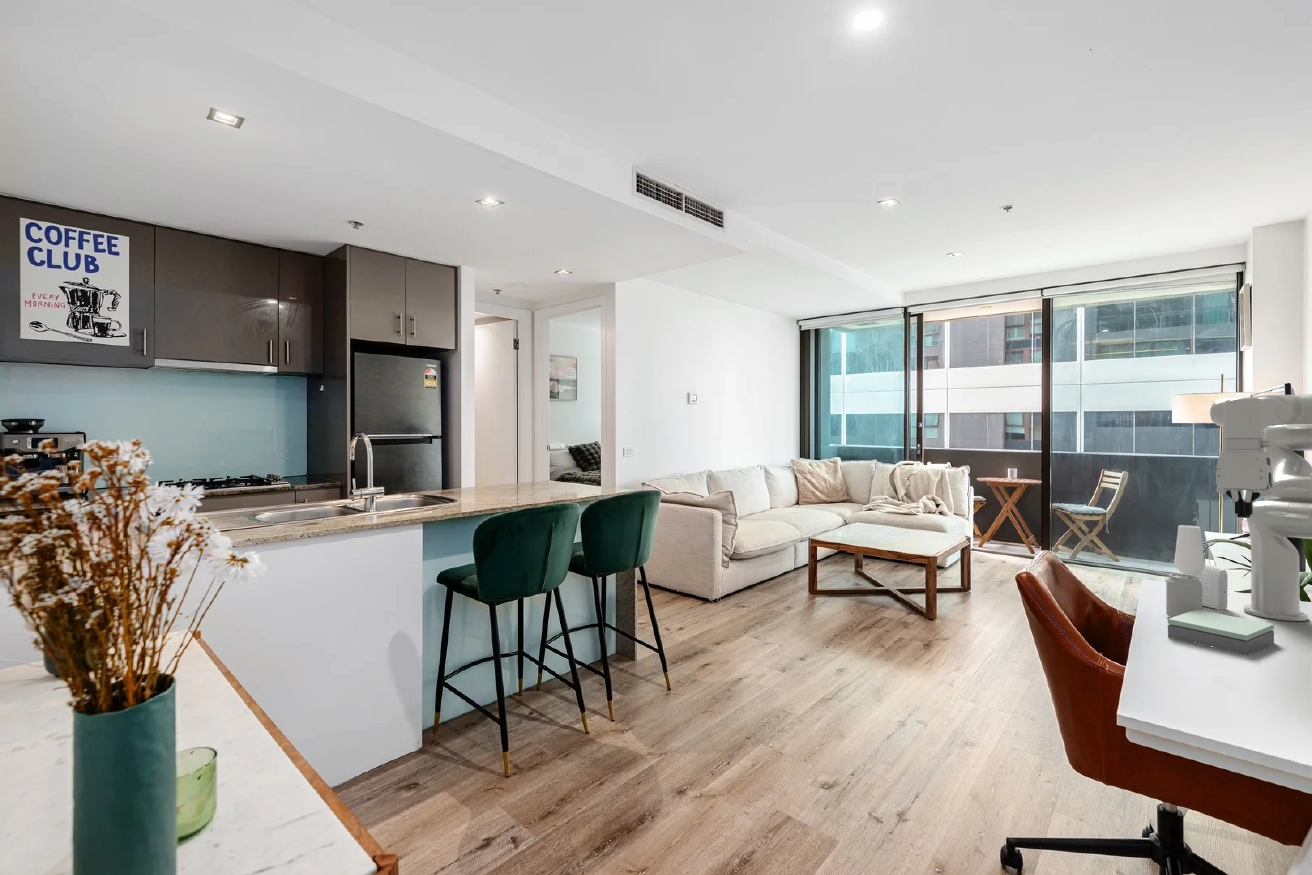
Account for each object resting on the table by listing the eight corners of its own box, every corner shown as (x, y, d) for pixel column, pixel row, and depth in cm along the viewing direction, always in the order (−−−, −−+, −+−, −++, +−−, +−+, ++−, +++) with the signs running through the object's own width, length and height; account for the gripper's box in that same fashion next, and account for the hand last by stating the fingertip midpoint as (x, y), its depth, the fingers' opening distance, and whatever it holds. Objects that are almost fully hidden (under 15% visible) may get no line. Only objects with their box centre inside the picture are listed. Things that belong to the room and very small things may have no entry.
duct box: (1196, 626, 163) (1196, 615, 163) (1273, 642, 150) (1273, 630, 150) (1167, 636, 156) (1167, 624, 156) (1246, 655, 142) (1246, 641, 142)
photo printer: (1230, 609, 179) (1230, 566, 179) (1220, 610, 177) (1220, 567, 177) (1190, 600, 188) (1190, 559, 188) (1180, 601, 187) (1180, 560, 187)
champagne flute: (1202, 609, 179) (1202, 525, 179) (1207, 615, 173) (1207, 528, 173) (1172, 605, 183) (1172, 524, 182) (1176, 611, 177) (1176, 527, 177)
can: (1204, 625, 164) (1204, 580, 164) (1167, 620, 169) (1167, 576, 169) (1200, 618, 170) (1200, 574, 170) (1165, 613, 175) (1165, 571, 175)
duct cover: (1196, 613, 163) (1196, 609, 163) (1273, 629, 150) (1273, 624, 150) (1167, 623, 156) (1167, 618, 156) (1246, 640, 142) (1246, 635, 142)
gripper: (1288, 445, 155) (1289, 519, 155) (1212, 445, 168) (1213, 513, 168) (1277, 446, 151) (1277, 521, 151) (1200, 445, 164) (1200, 515, 165)
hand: (1243, 517), depth 160 cm, fingers closed
